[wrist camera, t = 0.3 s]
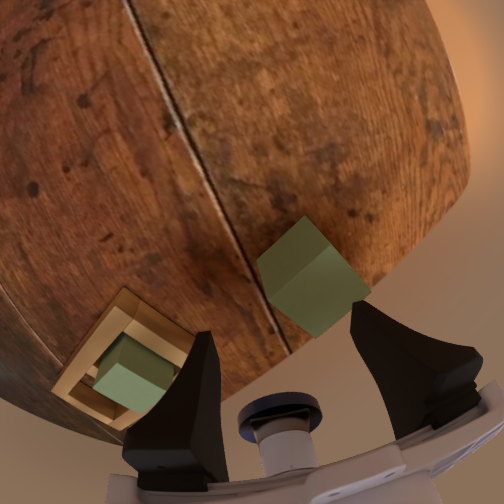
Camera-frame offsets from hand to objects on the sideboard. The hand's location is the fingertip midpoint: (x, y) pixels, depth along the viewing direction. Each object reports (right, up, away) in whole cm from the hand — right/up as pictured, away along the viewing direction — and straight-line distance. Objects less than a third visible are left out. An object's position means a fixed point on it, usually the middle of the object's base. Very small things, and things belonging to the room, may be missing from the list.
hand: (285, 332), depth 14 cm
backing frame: (-14, -7, +9) cm, 18 cm away
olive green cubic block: (+2, +4, +7) cm, 8 cm away
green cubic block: (-11, -4, +9) cm, 15 cm away
